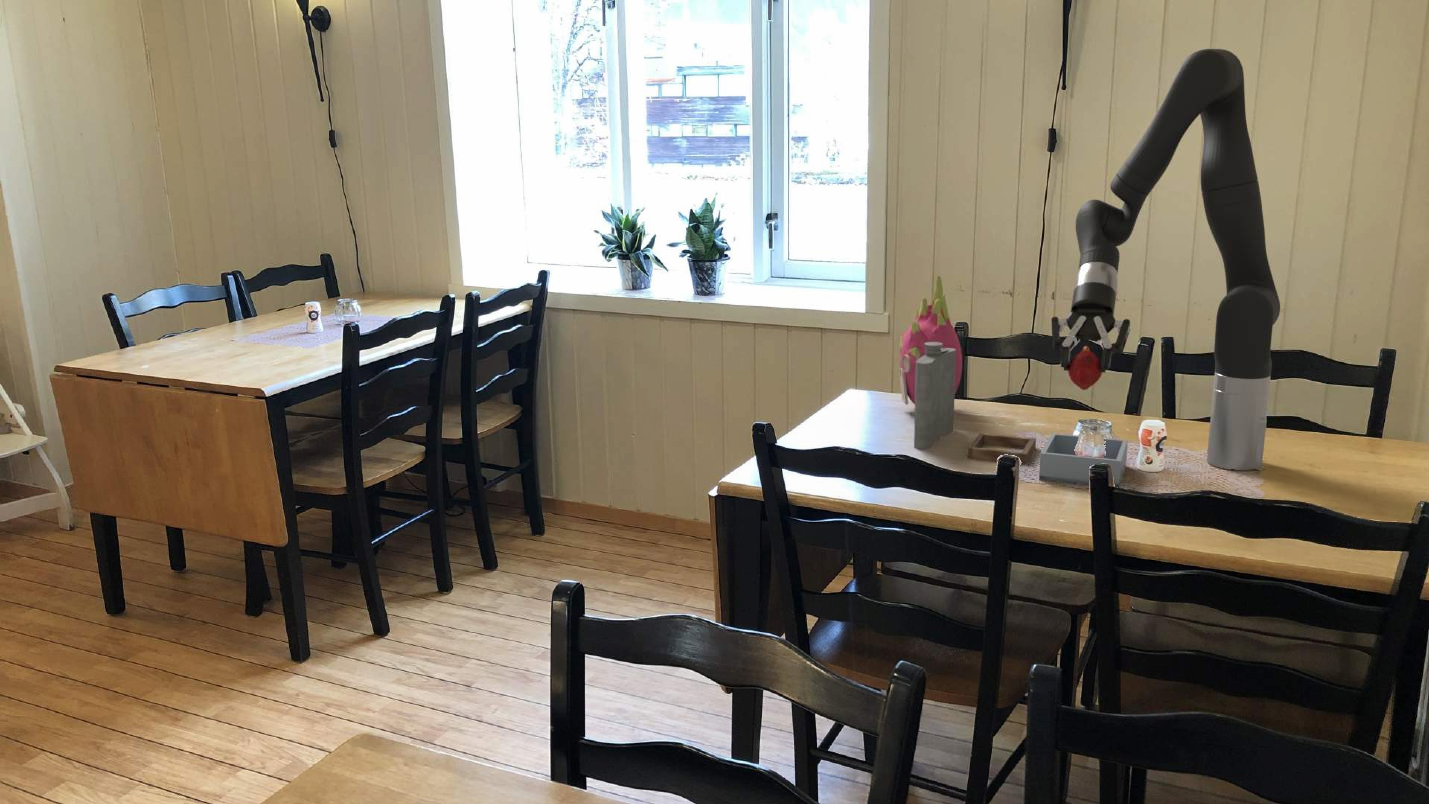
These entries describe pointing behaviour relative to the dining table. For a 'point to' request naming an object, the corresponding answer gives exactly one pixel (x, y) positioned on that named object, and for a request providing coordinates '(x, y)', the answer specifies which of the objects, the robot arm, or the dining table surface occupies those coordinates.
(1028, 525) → the dining table surface
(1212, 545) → the dining table surface
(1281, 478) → the dining table surface
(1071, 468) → the bin
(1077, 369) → the onion
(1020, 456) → the tray
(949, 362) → the hip flask
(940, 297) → the pink dragon fruit
